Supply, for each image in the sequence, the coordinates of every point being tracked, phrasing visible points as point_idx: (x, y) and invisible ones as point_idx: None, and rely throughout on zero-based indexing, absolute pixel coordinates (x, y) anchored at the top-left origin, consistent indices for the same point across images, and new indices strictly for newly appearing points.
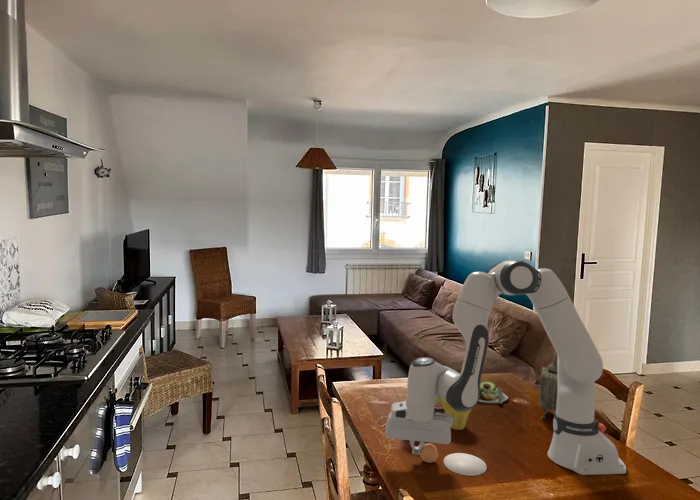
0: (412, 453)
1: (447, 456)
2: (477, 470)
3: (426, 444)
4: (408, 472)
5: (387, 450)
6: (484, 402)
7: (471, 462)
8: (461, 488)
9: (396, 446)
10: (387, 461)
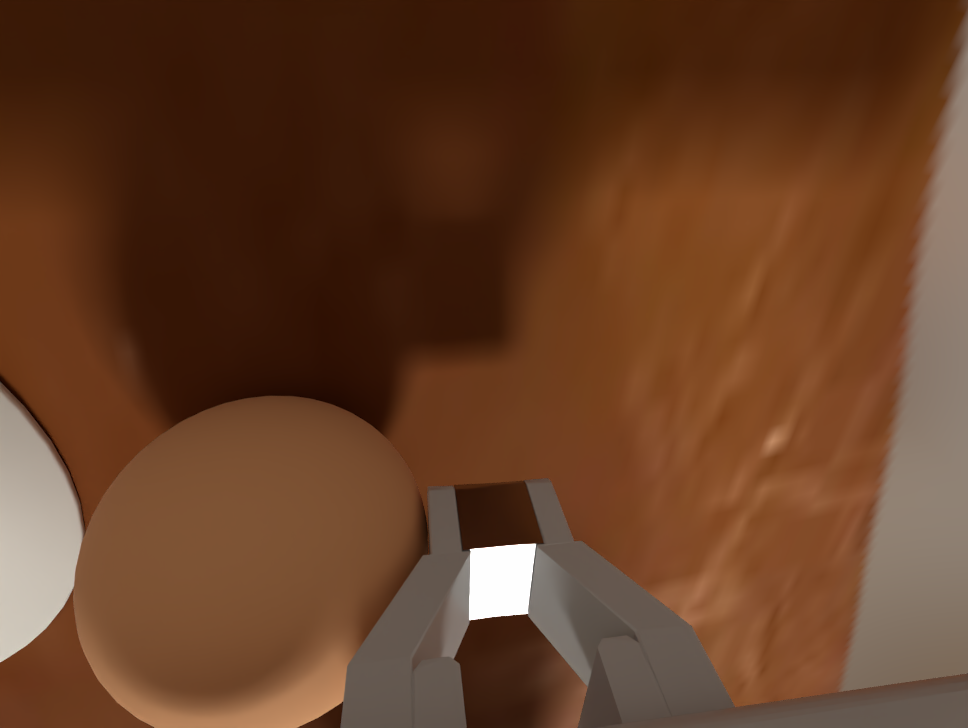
0: (548, 481)
1: (46, 601)
2: None
3: (304, 698)
4: (607, 117)
5: (732, 545)
6: None
7: None
8: None
9: None
10: (803, 358)
